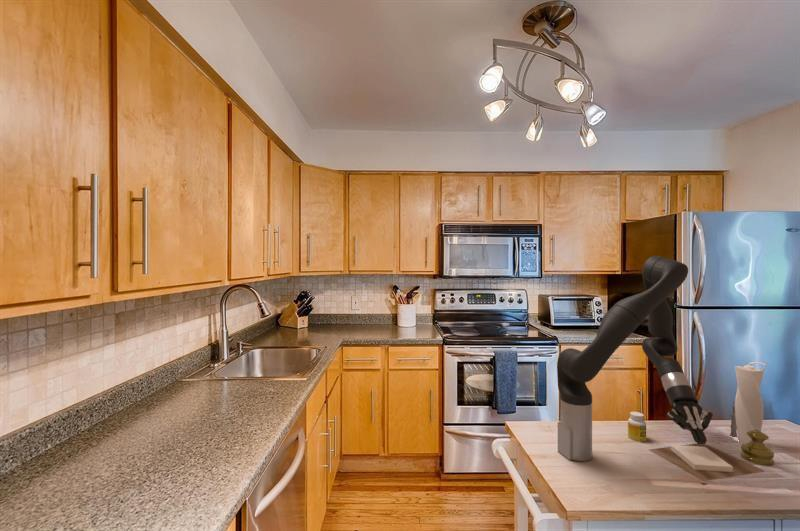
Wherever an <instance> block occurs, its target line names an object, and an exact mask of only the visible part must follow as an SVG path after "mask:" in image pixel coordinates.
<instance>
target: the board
mask: <svg viewBox="0 0 800 531" xmlns="http://www.w3.org/2000/svg"><path fill="white" fill-rule="evenodd" d="M680 446H698V447H706V448H707V449H709V450H710V451H712V452H713V453H714V454H716V455H717V456H718V457H720V458H721V459H723V460H724V461H725V462H727V463H728V464H729V465H731V466H732V467H733V472H723V471H707V470H694V469H693V468H692V467H691V466H690V465H688V464H687V463H686V462H685V461H684V460H683V459H681V458H680V457H679V456H678V455H677V454H676V453H674V452H673V451H672V450H671V446H666V447H665V446H664V447H658V448H650V449H648V451H650V452H652V453H653V454H655V455H656V456H658V457H661V458H662V459H664V460H666V461H667V462H669V463H671V464H673V465H675V466H677V467H678V468H680V469H682V470H683V471H685V472H687V473H689V474H691V475H692V476H694V477H696V478H698V479H699V480H701V481H704V482H705V481H710V480H718V479H725V478H731V477H737V476H744V475H749V474H750V475H751V474H757V473H763V472H764V473H765V470H764V469H762V468H759V467H757V466H755V465H754V464H751V463H750V462H749V463H748V461H746V460H745V461H744V460H742V459H740V458H738V457H736V456H735V455H734V456H733V455H732V454H729V453H727V452H724V451H723V450H721V449H718V448H716V447H715V446H712V445H710V444H708V443H707V442H706V443H705V444H698V443H697V442H695V443H689V444H681V445H680ZM700 484H701V485H703V486H707V485H708V483H702V482H701V483H700Z"/></svg>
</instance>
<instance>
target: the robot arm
mask: <svg viewBox="0 0 800 531" xmlns="http://www.w3.org/2000/svg"><path fill="white" fill-rule="evenodd" d="M688 274H689V267H688V265H687V264H685V263H683V262H681V261H678V260H674V259H671V258H668V257H664V256H661V255H652V256H650V257H649V258H647V259H646V261H644V264H643V266H642V274H641V275H642V282H643V287H644V291H642V292H640V293H635V294H634V295H630V296H627V297H625V298H622V299H620V300H619V301H616V303H614V305H613V306H611V308H609V310H608V311H607V312H606V313H605V314H603V317H602V319H601V320H600V324H599V327H598V331H597V334H596V336H595V338H594V339H593V340H592V342H590V344H589V345H588V346H587V347H585V348H584V349H583V350H579V349H577V348H571V347H570V348H569V347H568V348H565V349H563V350H562V351H561V352H560V353H559V355H558V356H557V357H558V358H557V362H556V373H557V377H556V378H557V388H558V391H559V393H560V394H559V395H560V396H559V397H560V410H559V411H560V413H559V414H560V415H559V416H560V421H558V422H557V452H558V453H560V454H561V455H562V456H563V457H565V458H567V460H568V461H579V462H587V461H591V460H592V459H593V394H592V392H591V391H590V390H589V388H588V387H587V384H586V383H588V382H591V381H592V380H594V378H596V376H597V375H598V374H599V373H600V371H601V370H602V368H603V367H604V366H605V364H607V361H608V360H609V359H610V358H611V356H612V355H613V353H615V352H616V350H618V349H619V347H620V346H621V345H622V344H623V342H625V341H626V340H627V338H629V337H630V336H631V335H632V333H634V332H635V330H637V328H638V327H639V326H640V325H641V324H642V323H643V322H644V321H645V320H646V318H647V317H648V324H647V325H648V332H649V333H650V335H651V336H653V337H646V338H644V339H643V340H642V343H641V347H642V351H643V353H644V355H646V357H647V359H649V361H650V362H651V363H652V364H653V365H654V367H655V368H656V370H657V372H658V375H659V377H660V380H661V384H662V386H663V389H664V391H665V394H666V396H667V399H668V401H669V404H670V405H671V410H669V411H668V412H667V414H666V416H667V417H668V418H669V419H670V420H671V421H672V422H673V423H675V424H676V425H677V426H679V427H680V428H681V429H682V430H686V431H689V432H690V433H691V435H692V439H693V441H694V442H695V443H698V444H705V443H706V444H707V441H708V439H707V437H706V435H705V434H706V433H705V432H704V431H705V430H707V428H708V427H709V425H710V423H711V421H712V418H713V416H714V414H713V413H712V412H710V411H709V412H707V411H705V410H703V407H702V406H701V405H700V404H699V400H698V397H697V395H696V394H695V392H694V390H693V387H692V385H691V383H690V382H689V378H687V376H686V375H685V373H684V371H683V368H682V366H681V364H680V362H679V361H678V360H677V359H675V358H671V357H674V356H675V355H676V354H677V353H678V345H677V342H676V339H675V336H674V331H673V326H674V317H673V316H674V315H673V311H672V309H671V307H670V304H669V303H668V301H667V298H668V297H670V296H671V295H672V294H673V293H674V292H676V290H678V289H679V287H681V285H682V284H683V283H684V282H685V281H686V279H687V277H688ZM701 418H702V420H701Z"/></svg>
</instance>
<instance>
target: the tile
mask: <svg viewBox="0 0 800 531" xmlns="http://www.w3.org/2000/svg"><path fill="white" fill-rule="evenodd" d="M670 447H671V450H672V451H673V452H674V453H676V454H677V455H678V456H679V457H680V458H681V459H683V460H684V461H685V462H686V463H687V464H688V465H690V466H691V467H692V468H693V469H694V470H707V471H723V472H733V467H732V466H731V465H729V464H728V463H727V462H725V461H724V460H723V459H721V458H720V457H718V456H717V455H716V454H714V453H713V452H712V451H710V450H709V449H707V448H706V447H698V446H680V445H675V444H671V445H670Z"/></svg>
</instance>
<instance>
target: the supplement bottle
mask: <svg viewBox="0 0 800 531" xmlns="http://www.w3.org/2000/svg"><path fill="white" fill-rule="evenodd" d="M644 419H645V415H644V414H643V413H641V412H638V411H630V412H629V418H628V419H627V437H628V439H629V440H631V441H634V442H640V443H645V442H647V422H646V420H644Z"/></svg>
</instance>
